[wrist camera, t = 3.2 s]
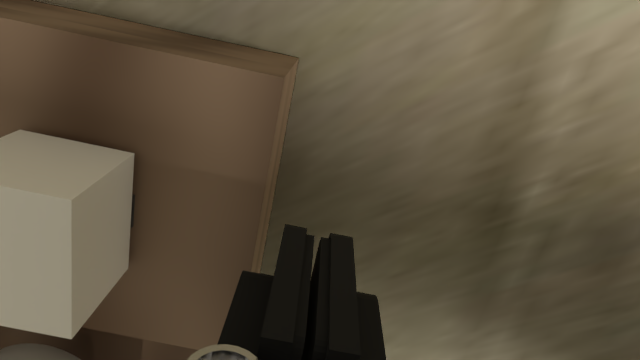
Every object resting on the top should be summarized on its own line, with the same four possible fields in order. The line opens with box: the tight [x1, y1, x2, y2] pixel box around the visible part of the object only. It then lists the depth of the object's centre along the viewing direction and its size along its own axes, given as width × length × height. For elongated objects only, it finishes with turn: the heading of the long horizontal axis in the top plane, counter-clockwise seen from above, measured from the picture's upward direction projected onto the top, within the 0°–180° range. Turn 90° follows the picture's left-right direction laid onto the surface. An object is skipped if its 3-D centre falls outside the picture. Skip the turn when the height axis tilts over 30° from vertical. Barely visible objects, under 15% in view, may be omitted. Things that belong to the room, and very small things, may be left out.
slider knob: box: [0, 130, 134, 339], centre depth 11 cm, size 3×4×3 cm
